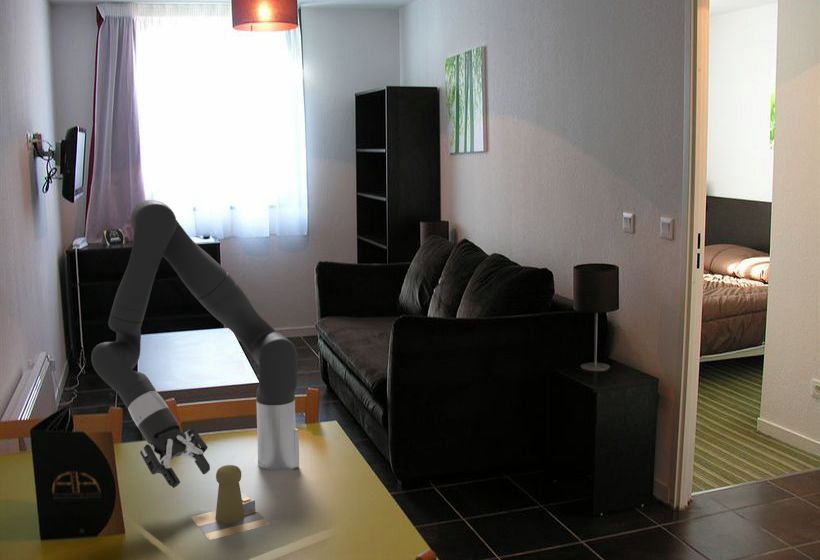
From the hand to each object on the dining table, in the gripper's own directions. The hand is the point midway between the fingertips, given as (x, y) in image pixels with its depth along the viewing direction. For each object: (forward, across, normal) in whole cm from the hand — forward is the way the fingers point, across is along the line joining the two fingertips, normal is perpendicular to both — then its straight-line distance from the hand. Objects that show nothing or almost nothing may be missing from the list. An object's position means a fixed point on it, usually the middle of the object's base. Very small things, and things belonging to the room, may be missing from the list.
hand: (192, 478), depth 177 cm
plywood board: (+13, 0, -2) cm, 13 cm away
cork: (+12, +2, -1) cm, 12 cm away
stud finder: (+11, +6, -1) cm, 12 cm away
